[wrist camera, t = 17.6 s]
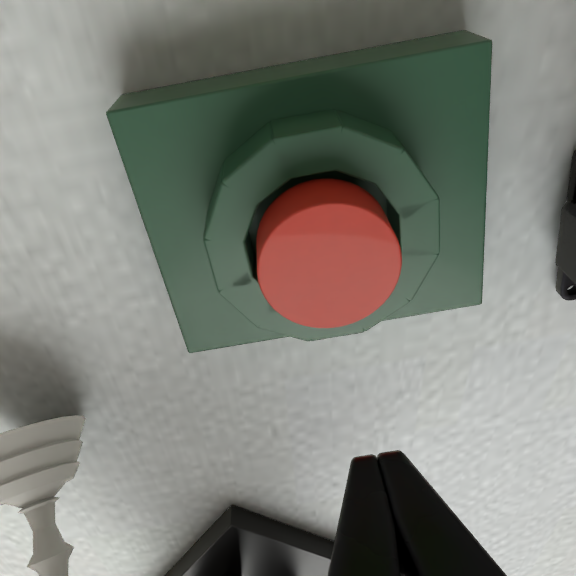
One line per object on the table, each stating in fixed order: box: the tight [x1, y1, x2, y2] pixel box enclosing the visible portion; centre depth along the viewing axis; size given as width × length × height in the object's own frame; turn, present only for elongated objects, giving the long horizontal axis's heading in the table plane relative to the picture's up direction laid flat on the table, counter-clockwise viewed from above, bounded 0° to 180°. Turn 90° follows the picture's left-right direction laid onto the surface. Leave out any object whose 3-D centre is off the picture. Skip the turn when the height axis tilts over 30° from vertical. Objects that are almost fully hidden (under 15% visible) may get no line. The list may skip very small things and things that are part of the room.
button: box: [256, 179, 402, 328], centre depth 15 cm, size 4×4×2 cm
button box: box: [106, 30, 492, 353], centre depth 17 cm, size 11×9×4 cm
